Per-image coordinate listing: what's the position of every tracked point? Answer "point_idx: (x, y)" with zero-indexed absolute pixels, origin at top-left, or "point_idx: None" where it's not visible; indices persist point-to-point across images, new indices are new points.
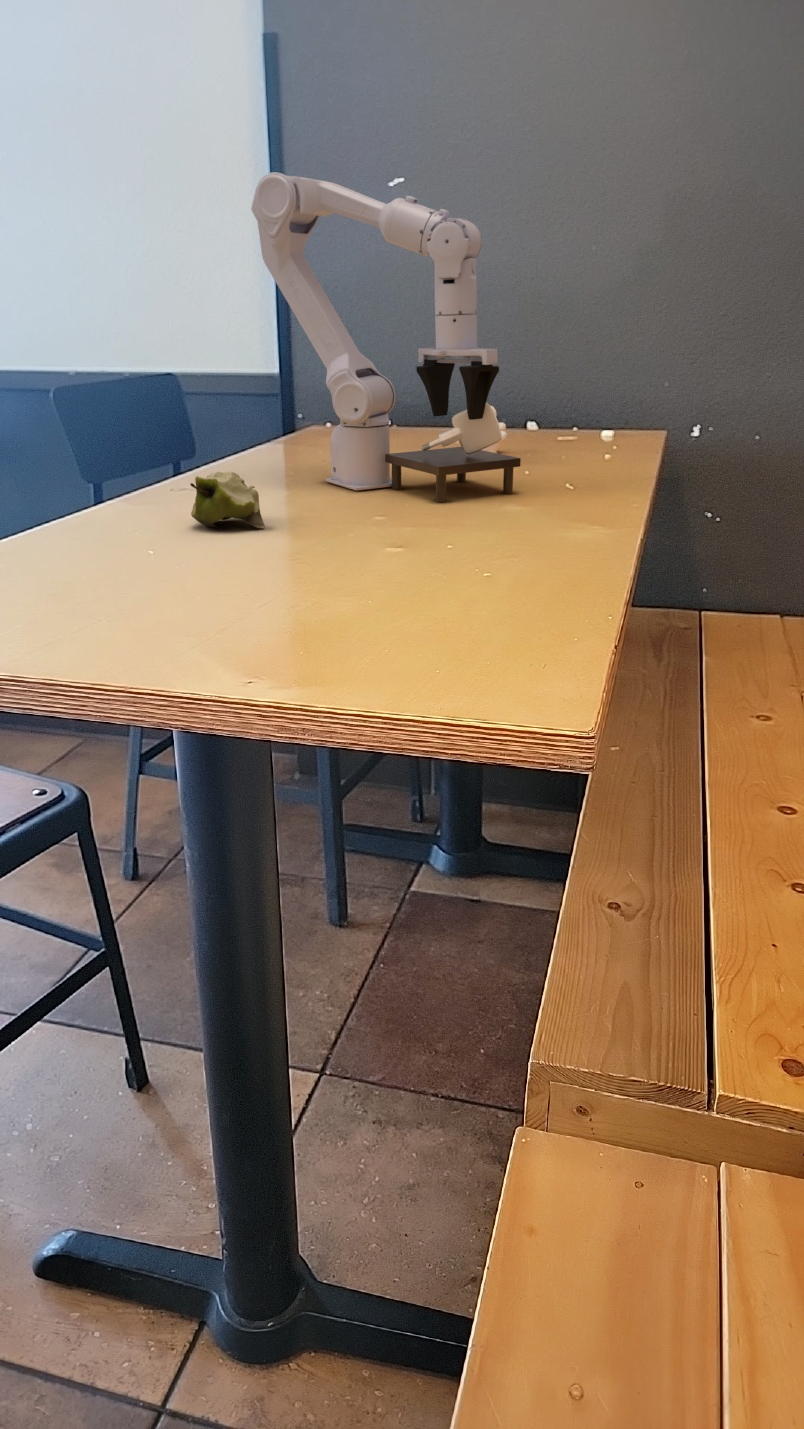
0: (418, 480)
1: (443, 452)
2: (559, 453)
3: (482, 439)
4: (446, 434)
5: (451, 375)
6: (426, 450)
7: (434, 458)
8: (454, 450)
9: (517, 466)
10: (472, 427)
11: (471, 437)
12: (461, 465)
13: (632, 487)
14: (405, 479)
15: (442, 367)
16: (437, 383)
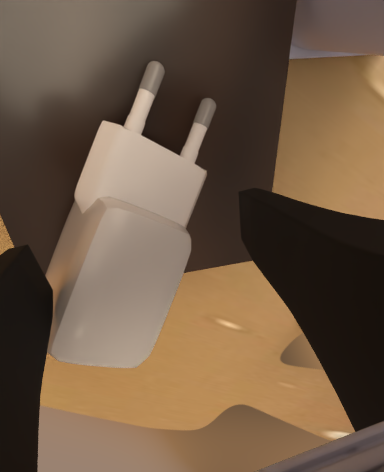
0: (286, 140)
1: (214, 178)
2: (310, 388)
3: (55, 251)
4: (104, 153)
5: (331, 382)
6: (270, 154)
7: (123, 95)
8: (225, 217)
9: None
10: (68, 248)
11: (69, 226)
12: None
13: (45, 395)
14: (313, 120)
15: (379, 391)
16: (320, 285)
